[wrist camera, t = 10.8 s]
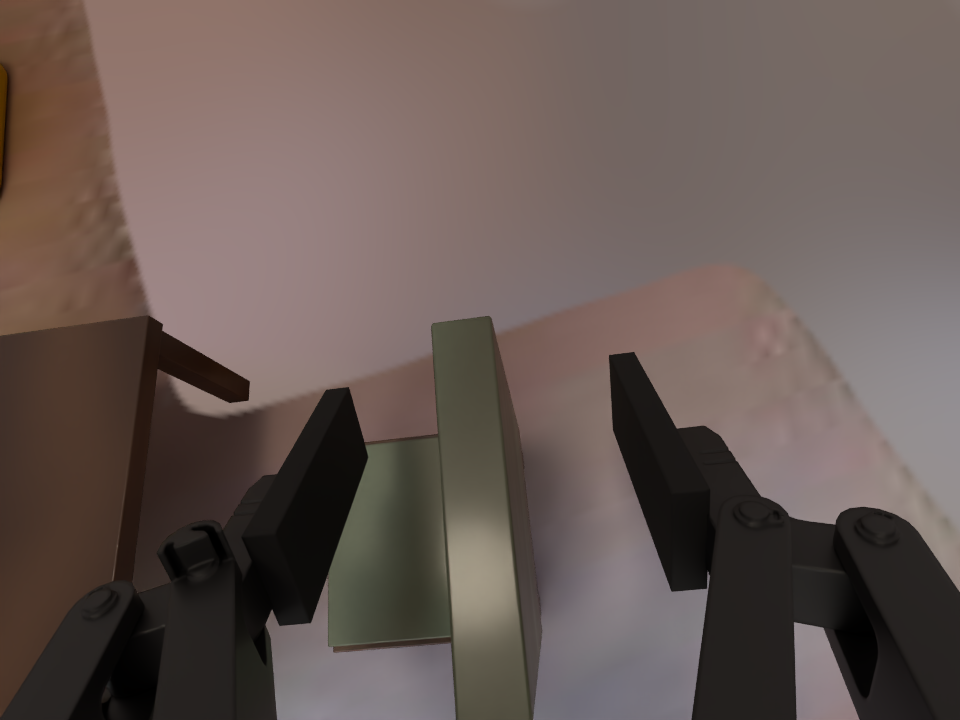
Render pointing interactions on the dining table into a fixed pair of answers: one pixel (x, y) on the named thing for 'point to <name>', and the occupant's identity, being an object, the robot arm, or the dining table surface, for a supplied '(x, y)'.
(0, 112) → the element tile
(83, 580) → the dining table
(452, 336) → the sage chair
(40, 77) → the dining table surface
